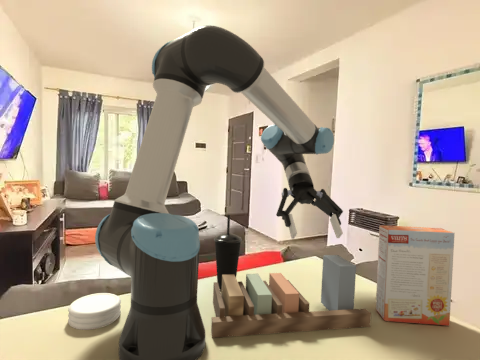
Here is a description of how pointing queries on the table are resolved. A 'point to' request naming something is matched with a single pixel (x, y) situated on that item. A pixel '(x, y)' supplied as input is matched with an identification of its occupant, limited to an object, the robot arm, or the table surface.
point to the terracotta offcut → (284, 292)
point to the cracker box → (414, 274)
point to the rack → (281, 317)
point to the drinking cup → (227, 253)
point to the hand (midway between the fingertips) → (317, 236)
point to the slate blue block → (338, 283)
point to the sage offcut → (258, 294)
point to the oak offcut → (232, 296)
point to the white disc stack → (94, 311)
